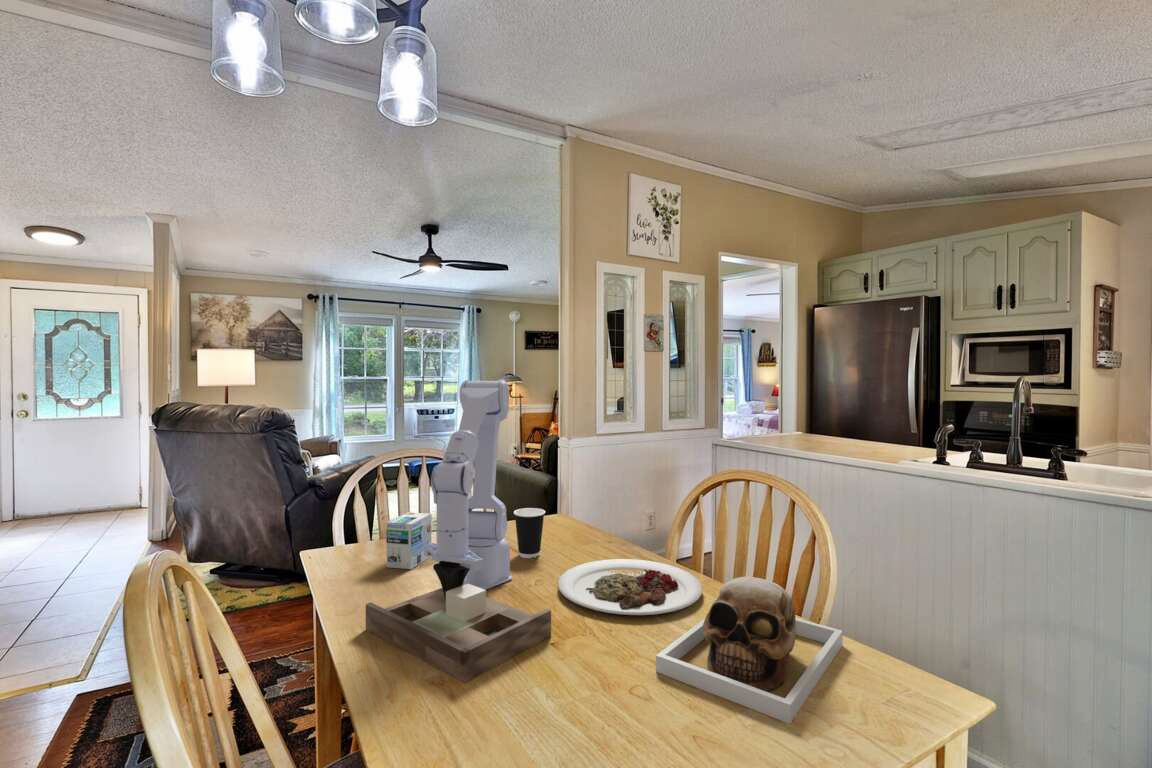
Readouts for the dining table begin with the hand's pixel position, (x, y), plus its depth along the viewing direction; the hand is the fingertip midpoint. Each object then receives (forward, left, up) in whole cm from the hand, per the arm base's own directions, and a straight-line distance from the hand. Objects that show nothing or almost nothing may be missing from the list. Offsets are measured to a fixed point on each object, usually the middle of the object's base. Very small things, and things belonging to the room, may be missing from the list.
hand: (452, 601), depth 101 cm
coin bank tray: (-22, +48, -3) cm, 53 cm away
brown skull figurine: (-20, +48, -4) cm, 52 cm away
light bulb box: (-14, -34, -4) cm, 37 cm away
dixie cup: (-36, -15, -4) cm, 39 cm away
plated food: (-33, +17, -4) cm, 37 cm away
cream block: (0, +4, -1) cm, 4 cm away
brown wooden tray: (+2, +5, -3) cm, 6 cm away
